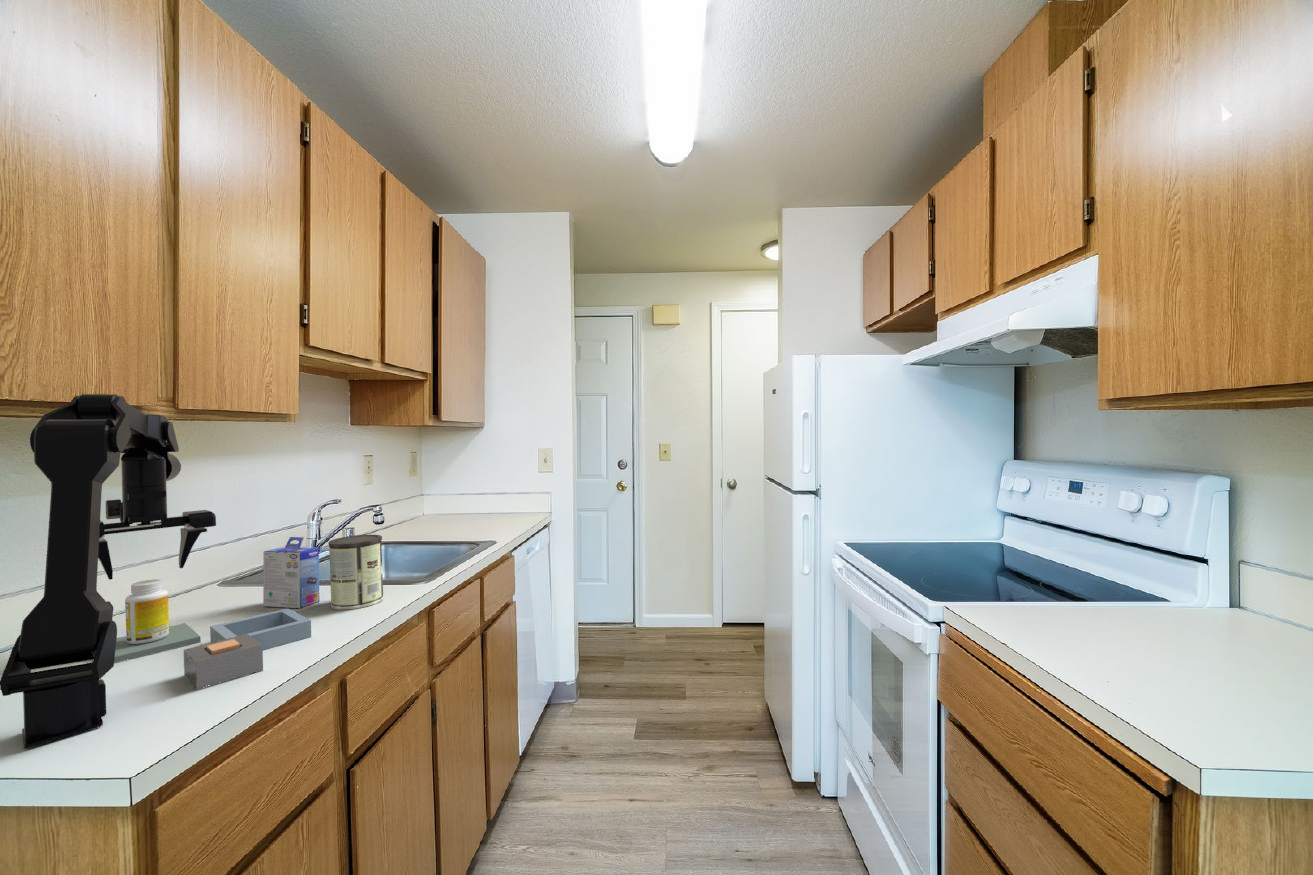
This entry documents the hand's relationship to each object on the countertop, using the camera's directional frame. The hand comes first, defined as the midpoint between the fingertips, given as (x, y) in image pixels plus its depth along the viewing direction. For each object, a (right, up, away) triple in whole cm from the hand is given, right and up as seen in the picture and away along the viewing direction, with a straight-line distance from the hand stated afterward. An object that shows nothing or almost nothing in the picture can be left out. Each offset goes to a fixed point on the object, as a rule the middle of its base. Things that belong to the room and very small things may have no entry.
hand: (147, 573), depth 96 cm
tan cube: (+24, -11, -12) cm, 29 cm away
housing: (+19, -12, +1) cm, 23 cm away
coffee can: (+25, -12, +23) cm, 36 cm away
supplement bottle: (0, -12, 0) cm, 12 cm away
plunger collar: (+24, -12, -12) cm, 29 cm away
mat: (0, -13, 0) cm, 13 cm away
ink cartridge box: (+11, -13, +22) cm, 28 cm away
